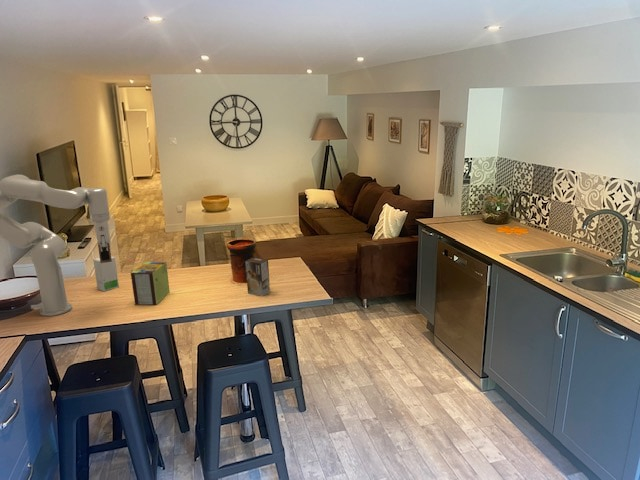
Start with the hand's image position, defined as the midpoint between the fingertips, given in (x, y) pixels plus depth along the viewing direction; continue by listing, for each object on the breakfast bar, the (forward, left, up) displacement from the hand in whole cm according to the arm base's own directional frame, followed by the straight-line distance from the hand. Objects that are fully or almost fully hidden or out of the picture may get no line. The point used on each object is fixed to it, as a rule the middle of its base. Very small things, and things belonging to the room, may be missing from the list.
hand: (105, 257), depth 207 cm
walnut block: (0, 0, -1) cm, 1 cm away
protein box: (+17, +2, -23) cm, 29 cm away
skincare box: (-1, +27, -23) cm, 36 cm away
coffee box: (+63, -15, -23) cm, 69 cm away
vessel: (+62, +6, -23) cm, 67 cm away
